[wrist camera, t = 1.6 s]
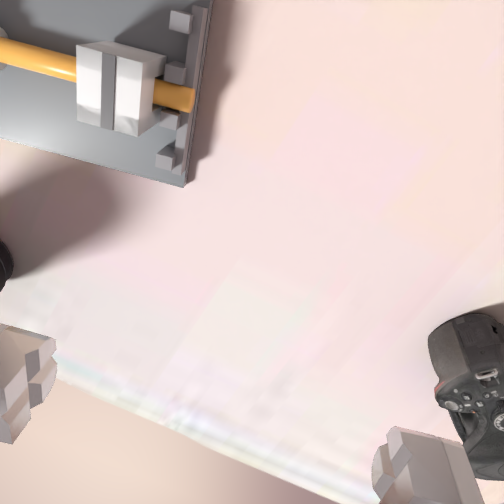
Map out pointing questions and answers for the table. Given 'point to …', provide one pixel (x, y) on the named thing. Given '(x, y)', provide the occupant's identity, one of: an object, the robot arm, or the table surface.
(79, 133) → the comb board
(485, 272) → the table surface
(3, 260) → the camera lens
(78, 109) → the sleeve
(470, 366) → the camera
